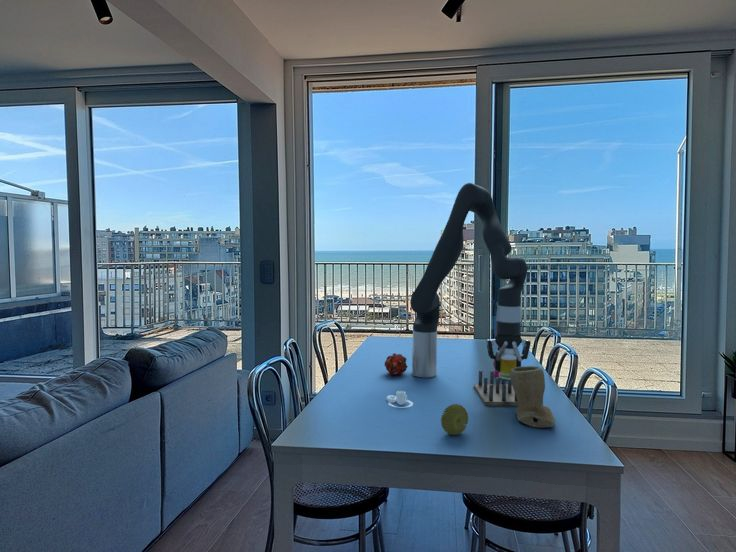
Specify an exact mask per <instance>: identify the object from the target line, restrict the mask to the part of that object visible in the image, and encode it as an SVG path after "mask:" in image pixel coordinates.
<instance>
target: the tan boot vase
mask: <svg viewBox="0 0 736 552" xmlns="http://www.w3.org/2000/svg"><path fill="white" fill-rule="evenodd" d="M510 376H511V383H512V386H513V389H514V392H515V394H516V397H517V400H518V406H516V408H515V411H516V412H515V413H516V416H517V420H518V421H519V422H521V423H522V424H525V425H526V426H529V427H532V428H537V429H539V428H542V429H543V428H549V427H554V426H556V424H555V419H554V414H553V412H552V410H551V408H549V407H548V406H544V394H545V389H546V381H545V374H544V370H543V368H541V367H539V366H537V365H535V366H534V365H528V366H524V365H523V366H522V365H521V367H515V368H512V369H511V371H510Z"/></svg>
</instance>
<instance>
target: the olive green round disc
mask: <svg viewBox="0 0 736 552" xmlns="http://www.w3.org/2000/svg"><path fill="white" fill-rule="evenodd" d="M467 411H468V410H467V409H466V408H465V407H464V406H463V405H461V404H459V403H453V404H450V405H448V406H446V408H445V409H444V410H443V412H442V414H441V417H440V423H441V426H442V429H443V430H444V432H446V433H447V434H448V435H453V436H455V435H460V434H462V433H463V431H465V430H466V428H467V425H468V423H469V413H468V412H467Z"/></svg>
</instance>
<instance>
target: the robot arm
mask: <svg viewBox="0 0 736 552" xmlns="http://www.w3.org/2000/svg"><path fill="white" fill-rule="evenodd" d="M469 212H472V213H475V214H476V215H477V216H478V218H479V219H480V221H481V223H482V238H483V242H484V243H485V245H486V248H487V250H488V252H489V255H490V261H491V268H492V269H491V270H492V273H493V274H494V276H495V277H496V278H497V279H499V280H509V281H508V284H507V285H504V286H501V287H499V288H498V291H497V308H496V322H495V323H496V326H495V328H496V330H495V337H494V338H492V339H489V338H487V339H486V340H485V343H486V344H485V345H486V349H487V354H488V357H489V358H490V359H491V360H493V362H494V366H493V367H494V368H493V369H494V371H495V370H496V371H497V372H500V358H501V355H502V354H503V352H504V350H505V349H514V351H515V352H514V354H515V355H516V357H517V363H516V367H522V361H523V360H527V359H528V357H529V352H530V347H531V344H532V342H531V341H530V340H529V339H523V338H522V336H521V334H522V333H521V332H522V307H521V306H522V305H521V303H522V302H521V301H522V291H523V290H524V289H523V288H524V284H525V282H526V278H527V275H528V264H527V262H526V260H525V259H524V258H522V257H519V256H509V257H508V255H509V254H510V253H511V252H512V245H511V242H510V240H509V238H508V237H507V235H506V233H505V231H504V229H503V227H502V225H501V223H500V219H499V216H498V213H497V211H496V207H495V204H494V201H493V197H492V195H491V193H490V191H489V190H488V189H487V188H484V187H482V186H480V185H478V184H475V183H473V182H472V183H471V182H467V183H465V184H463V186H461V188H460V189H459V191H458V193H457V195H456V196H455V200H454V203H453V207H452V208H451V211H450V213H449V214H450V215H449V217H448V220H447V222H446V224H445V226H444V229H443V231H442V233H441V235H440V237H439V240H438V241H437V243H436V245H435V248H434V249H433V253H432V255H431V257H430V260H429V261H428V264H427V266H426V269H425V271H424V273H423V276H422V277H421V279H420V281H419V283H418V284H417V286H416V288H415V289H414V291H413V292H412V295H411V297H410V299H409V300H410V301H409V302H410V303H409V304H410V307H411V310H412V311H413V312H414V313H416V316H415V320H414V321H413V324H412V349H411V373H412V377H418V378H426V379H427V378H434V377H436V376H437V369H438V368H437V363H438V362H437V359H438V358H437V357H438V356H437V355H438V351H437V350H438V325H439V322H440V306H441V305H440V304H441V302H440V296H439V294H438V291H439V288H440V286H441V284H442V283H443V281H444V280H445V278H447V276H448V275H449V274H450V273H451V271H452V270H453V268H454V267H455V266H456V264H457V262H458V260H459V258H460V256H461V254H462V252H463V249H464V224H465V221H466V219H467V216H468V215H469ZM495 344H496V345H497V348H496V351H495V353H494V349H493V347H494V346H495ZM520 345H522V350H521V351H522V352H521V354H520V350H519V346H520ZM499 348H500V349H499ZM494 360H495V361H494Z"/></svg>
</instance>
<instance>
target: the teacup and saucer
mask: <svg viewBox="0 0 736 552" xmlns="http://www.w3.org/2000/svg"><path fill="white" fill-rule="evenodd" d="M386 401H387V405H388V406H390V407H392V408H397V409H398V408H399V409H407V408H410V407H411V408H412V407H413V406H414V402H413V401H412V400H409V396H408V395H407V391H405V390H397V391H396V392H395V395H391V394H390V395H387V396H386ZM406 402H407V403H409V405H405V404H406ZM395 403H397V404H398V405H401V406H396V405H393V404H395ZM403 405H405V406H403Z"/></svg>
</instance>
